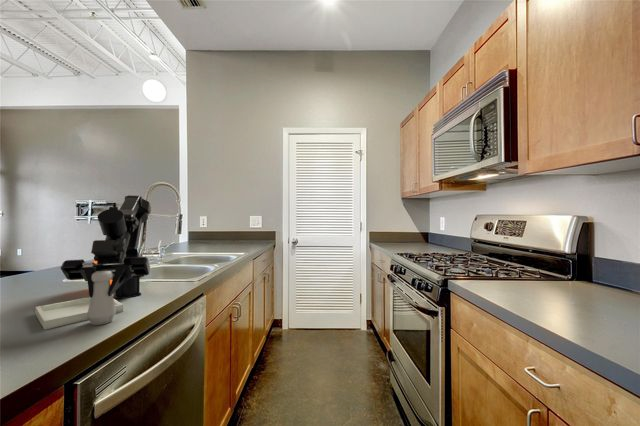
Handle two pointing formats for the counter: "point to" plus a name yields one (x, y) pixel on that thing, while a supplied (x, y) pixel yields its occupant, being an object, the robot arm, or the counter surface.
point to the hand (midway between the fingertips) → (100, 295)
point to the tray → (66, 312)
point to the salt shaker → (101, 299)
